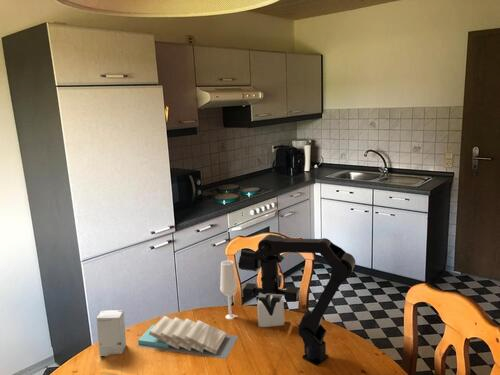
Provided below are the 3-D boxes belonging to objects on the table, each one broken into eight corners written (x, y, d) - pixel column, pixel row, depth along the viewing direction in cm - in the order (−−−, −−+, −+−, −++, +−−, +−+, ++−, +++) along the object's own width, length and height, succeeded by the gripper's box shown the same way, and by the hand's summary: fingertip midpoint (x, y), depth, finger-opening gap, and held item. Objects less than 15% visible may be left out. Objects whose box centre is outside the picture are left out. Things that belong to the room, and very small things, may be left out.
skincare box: (99, 357, 145) (94, 318, 142) (104, 347, 151) (100, 310, 148) (123, 356, 145) (119, 317, 142) (128, 346, 151) (123, 308, 148)
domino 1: (181, 327, 157) (153, 324, 160) (168, 344, 146) (137, 340, 150) (181, 331, 157) (153, 328, 160) (168, 348, 147) (138, 344, 150)
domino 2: (192, 329, 156) (164, 315, 158) (179, 345, 145) (149, 330, 147) (191, 332, 156) (163, 318, 158) (178, 349, 146) (148, 334, 148)
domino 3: (203, 330, 154) (175, 316, 156) (191, 347, 144) (161, 332, 146) (202, 334, 155) (174, 320, 157) (190, 351, 144) (160, 335, 147)
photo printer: (258, 330, 158) (257, 300, 155) (257, 324, 162) (256, 294, 159) (285, 327, 158) (284, 297, 156) (283, 321, 163) (282, 292, 160)
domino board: (238, 338, 152) (238, 336, 152) (226, 361, 139) (226, 358, 139) (155, 328, 162) (155, 326, 162) (136, 349, 149) (136, 346, 149)
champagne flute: (218, 319, 167) (215, 262, 162) (231, 312, 171) (228, 258, 167) (229, 325, 162) (225, 267, 157) (242, 318, 167) (239, 262, 162)
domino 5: (227, 333, 152) (198, 319, 154) (216, 350, 141) (185, 335, 144) (226, 336, 152) (197, 323, 154) (215, 354, 142) (184, 339, 144)
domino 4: (214, 331, 153) (186, 318, 155) (203, 348, 143) (173, 333, 145) (213, 335, 153) (185, 321, 156) (202, 352, 143) (171, 337, 145)
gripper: (301, 265, 144) (302, 306, 147) (249, 261, 149) (251, 301, 152) (295, 278, 134) (296, 322, 137) (240, 274, 139) (242, 316, 142)
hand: (271, 315), depth 142 cm, fingers closed
